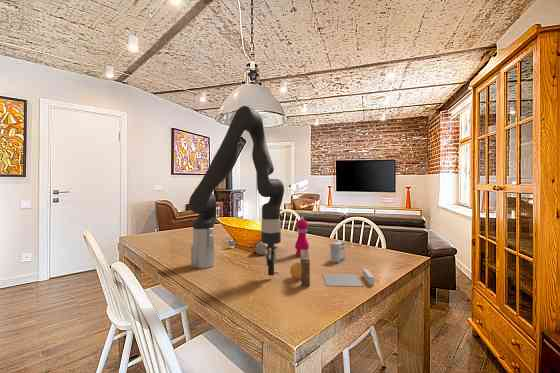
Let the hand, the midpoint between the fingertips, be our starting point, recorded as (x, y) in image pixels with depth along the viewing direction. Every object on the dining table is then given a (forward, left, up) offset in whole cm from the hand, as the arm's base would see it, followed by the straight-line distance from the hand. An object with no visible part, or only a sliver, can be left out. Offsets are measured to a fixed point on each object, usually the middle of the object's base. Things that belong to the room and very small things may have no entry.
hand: (271, 275), depth 107 cm
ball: (+10, +1, +2) cm, 11 cm away
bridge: (+13, 0, -2) cm, 13 cm away
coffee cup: (-27, +52, -2) cm, 58 cm away
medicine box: (+30, +28, -2) cm, 41 cm away
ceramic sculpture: (-7, +42, -2) cm, 43 cm away
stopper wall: (+37, 0, -2) cm, 37 cm away
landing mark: (+27, 0, -2) cm, 27 cm away
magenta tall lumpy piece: (+13, +38, -2) cm, 40 cm away
